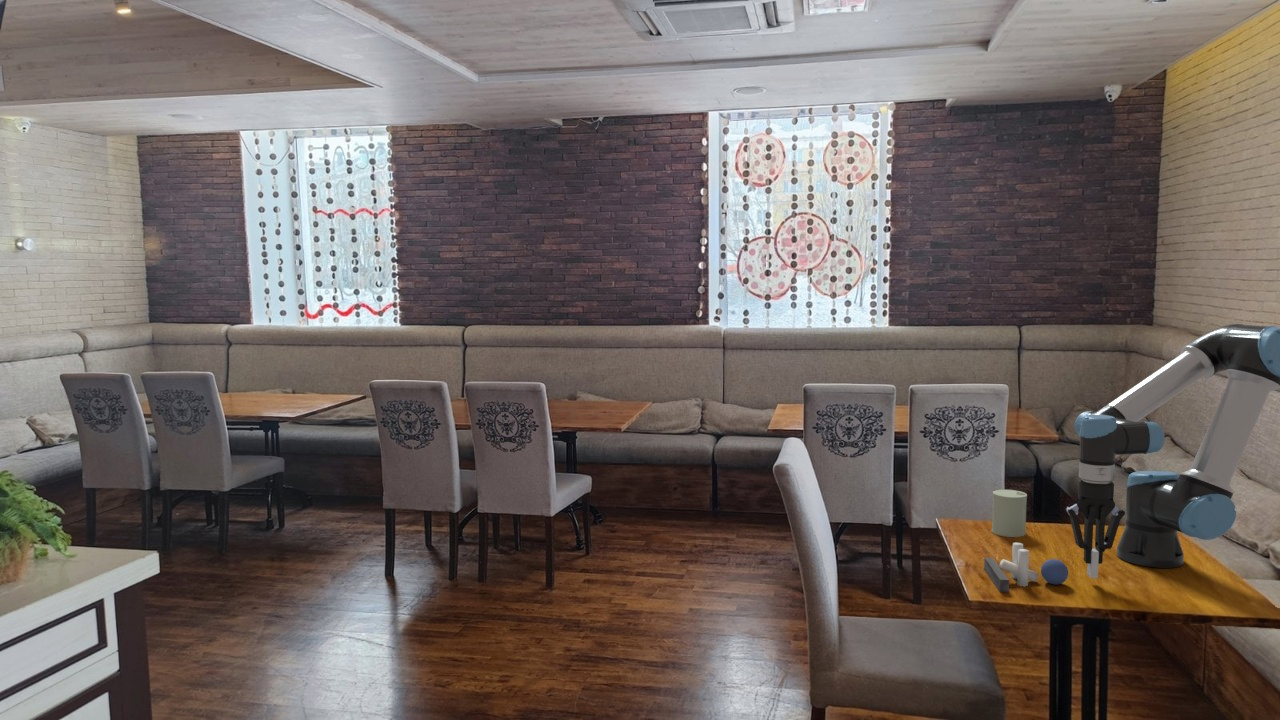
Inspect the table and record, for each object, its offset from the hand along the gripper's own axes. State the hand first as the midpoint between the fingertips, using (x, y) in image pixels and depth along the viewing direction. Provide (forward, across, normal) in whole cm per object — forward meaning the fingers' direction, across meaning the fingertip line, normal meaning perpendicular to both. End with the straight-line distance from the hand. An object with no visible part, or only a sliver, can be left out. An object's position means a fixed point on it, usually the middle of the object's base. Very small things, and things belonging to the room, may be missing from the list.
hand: (1092, 576), depth 213 cm
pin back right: (+2, -17, +2) cm, 17 cm away
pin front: (+1, -13, 0) cm, 13 cm away
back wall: (+2, -22, 0) cm, 22 cm away
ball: (-1, -9, -1) cm, 9 cm away
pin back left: (+2, -17, -2) cm, 17 cm away
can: (+2, -9, +41) cm, 42 cm away
